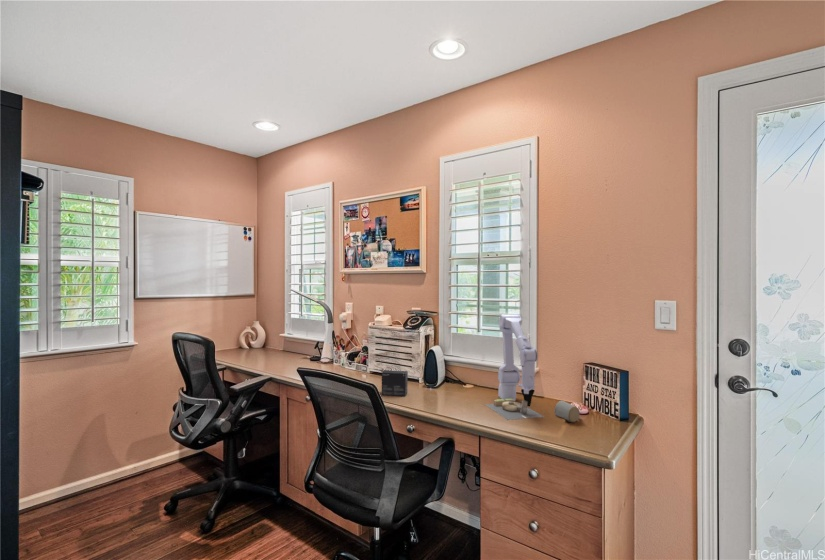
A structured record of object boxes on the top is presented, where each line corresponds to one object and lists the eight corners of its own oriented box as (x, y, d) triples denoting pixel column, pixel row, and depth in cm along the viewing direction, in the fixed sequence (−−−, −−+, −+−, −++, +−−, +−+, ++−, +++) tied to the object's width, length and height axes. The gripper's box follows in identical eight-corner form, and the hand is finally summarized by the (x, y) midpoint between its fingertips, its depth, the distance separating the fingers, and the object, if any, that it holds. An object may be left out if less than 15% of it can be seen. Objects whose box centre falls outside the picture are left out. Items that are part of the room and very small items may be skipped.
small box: (407, 393, 216) (408, 370, 216) (405, 396, 209) (406, 373, 209) (383, 391, 218) (384, 369, 218) (381, 395, 211) (381, 372, 211)
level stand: (484, 407, 192) (484, 399, 192) (518, 405, 197) (518, 396, 197) (507, 423, 171) (507, 413, 171) (544, 420, 176) (544, 410, 176)
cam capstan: (498, 407, 187) (498, 395, 187) (510, 404, 192) (511, 393, 192) (520, 415, 176) (520, 403, 176) (532, 412, 180) (532, 400, 180)
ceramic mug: (569, 424, 171) (570, 406, 171) (553, 418, 178) (554, 401, 178) (585, 420, 176) (585, 403, 176) (569, 415, 183) (570, 398, 183)
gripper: (520, 371, 189) (520, 400, 189) (516, 378, 175) (516, 409, 175) (536, 372, 186) (536, 402, 186) (533, 380, 173) (533, 411, 173)
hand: (527, 405), depth 181 cm, fingers closed
